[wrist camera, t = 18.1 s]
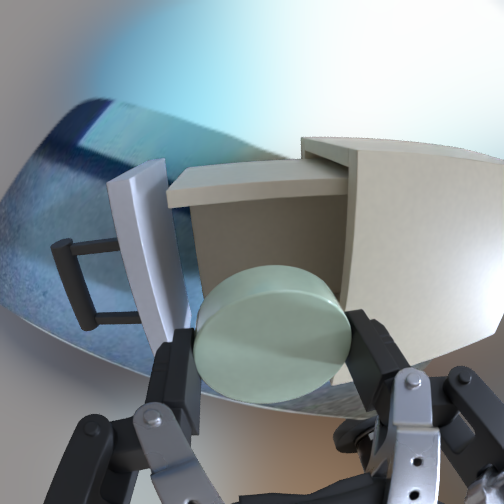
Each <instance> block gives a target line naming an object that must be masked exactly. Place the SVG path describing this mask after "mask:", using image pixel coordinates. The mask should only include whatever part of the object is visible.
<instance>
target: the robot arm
mask: <svg viewBox="0 0 504 504" xmlns="http://www.w3.org/2000/svg"><path fill="white" fill-rule="evenodd" d="M344 313H345V315H346V316H347V319H348V321H349V323H350V326H351V330H352V343H351V348H350V352H349V355H348V357H347V359H346V361H345V363H346V366H347V368H348V370H349V372H350V375H351V377H352V379H353V382H354V384H355V386H356V388H357V391H358V393H359V395H360V398H361V400H362V403H363V405H364V407H365V410H366V412H369V411H373V410H376V411H377V414H378V416H377V418H376V423H375V425H373V426H371V427H369V428H367V429H366V430H364V431H363V432H361V433H360V434H359V435H358V436H357V437H356V438H355V439H354V445H355V447H356V449H357V452H358V455H359V458H360V461H361V464H362V467H363V470H364V474H360V475H357V476H354V477H350V478H346V479H343V480H339V481H337V482H335V483H334V484H331V485H329V486H327V487H325V488H323V489H320V490H318V491H316V492H314V493H311V494H307V495H300V494H299V495H298V494H282V493H267V494H257V495H244V496H239V502H235V503H232V504H444V503H442V502H440V501H438V500H437V499H438V489H439V488H438V487H439V473H440V448H441V450H442V451H443V452H444V454H445V455H446V457H447V458H448V460H449V461H450V462H451V464H452V466H453V467H454V468H455V470H456V471H457V473H458V474H459V476H460V477H461V478H462V480H463V482H464V483H465V485H466V486H467V488H468V490H467V495H466V497H465V500H464V503H465V504H504V404H503V403H502V402H501V401H500V400H499V398H498V397H497V396H496V395H495V394H494V393H493V392H492V390H491V389H490V388H489V387H488V386H487V385H486V384H485V383H484V382H483V381H482V379H481V378H480V377H479V376H478V375H477V374H476V373H475V372H474V371H473V370H471V369H470V368H468V367H465V366H457V367H454V368H453V369H451V371H450V372H449V374H448V376H446V377H428V376H427V375H426V373H424V372H423V371H422V370H420V369H417V368H411V366H410V365H409V363H408V362H407V360H406V358H405V357H404V355H403V354H402V352H401V351H400V349H399V347H398V346H397V344H396V343H394V340H393V338H392V337H391V336H390V334H389V332H388V331H387V329H386V328H385V326H384V325H383V324H381V323H380V322H378V321H377V320H376V319H371V320H370V319H369V318H368V316H367V315H366V313H365V312H364V310H363V309H358V310H352V311H345V312H344ZM194 334H195V330H194V328H180V329H175V330H174V334H173V339H172V342H163V343H162V344H161V346H160V347H159V348H158V349H157V351H156V354H155V359H154V363H153V367H152V372H151V377H150V382H149V386H148V391H147V396H146V401H145V404H144V405H142V406H141V407H139V408H138V409H137V410H136V412H135V414H134V416H132V417H129V418H126V419H121V420H116V421H112V422H109V421H108V419H107V418H106V417H104V416H102V415H99V414H91V415H88V416H85V417H84V418H82V419H81V420H80V421H79V423H78V424H77V426H76V429H75V430H74V433H73V435H72V437H71V439H70V441H69V444H68V446H67V448H66V450H65V452H64V454H63V457H62V459H61V461H60V464H59V466H58V468H57V471H56V473H55V476H54V478H53V480H52V483H51V485H50V488H49V490H48V493H47V495H46V498H45V501H44V503H43V504H130V501H131V497H132V494H133V490H134V487H135V483H136V480H137V476H138V473H139V470H143V469H148V468H150V469H151V472H152V474H151V475H150V476H151V480H152V483H153V485H154V488H155V490H156V492H157V494H158V496H159V498H160V500H161V502H162V504H225V503H224V502H223V500H222V499H221V497H220V496H219V494H218V492H217V491H216V489H215V488H214V486H213V485H212V483H211V481H210V480H209V478H208V477H207V475H206V473H205V471H204V470H203V468H202V466H201V465H200V463H199V461H198V459H197V458H196V456H195V454H194V452H193V451H192V449H191V435H199V423H200V395H201V377H200V375H199V374H198V371H197V368H196V364H195V360H194V357H193V343H194ZM460 412H461V414H462V415H463V416H464V417H465V419H466V420H467V421H468V422H469V424H470V425H471V426H472V427H473V429H474V430H475V435H474V434H473V432H472V431H471V430H470V428H469V427H468V426H467V424H466V423H465V422H464V421H463V419H462V418H461V417H460V416H459V413H460Z"/></svg>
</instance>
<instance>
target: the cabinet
mask: <svg viewBox="0 0 504 504" xmlns="http://www.w3.org/2000/svg"><path fill="white" fill-rule="evenodd" d="M321 158H327V159H329V160H332V161H334V162H337V163H339V164H342V165H344V166H347V167H349V177H348V207H347V226H346V241H345V253H344V265H343V275H342V285H341V294H340V302H339V304H340V306H341V308H342V309H343V311H344V312H345V311H352V310H358V309H363V310H364V312H365V313H366V315H367V316H368V318H369V319H370V320H371V319H376V320H377V321H378V322H380V323H381V324H383V325H384V326H385V328H386V329H387V331H388V332H389V334H390V336H391V337H392V338H393V340H394V343H396V344H397V346H398V347H399V349H400V351H401V352H402V354H403V355H404V357H405V358H406V360H407V362H408V363H409V365H410V366H411V365H415V364H418V363H421V362H424V361H427V360H430V359H433V358H435V357H438V356H441V355H444V354H446V353H449V352H452V351H454V350H457V349H459V348H462V347H464V346H467V345H469V344H472V343H474V342H477V341H479V340H481V339H483V338H486V337H488V336H490V335H492V334H494V333H495V331H496V329H497V327H498V325H499V322H500V320H501V318H502V315H503V313H504V160H502V159H498V158H495V157H492V156H489V155H485V154H482V153H478V152H474V151H470V150H466V149H462V148H456V147H450V146H443V145H436V144H427V143H419V142H409V141H398V140H386V139H370V138H349V137H301V159H321ZM352 381H353V379H352V377H351V375H350V372H349V370H348V368H347V366H346V363H345V362H344V364H343V366H342V367H341V368H340V370H339V371H338V372H337V373H336V374H335V375H334V376H333V377H332V378H331V379H330V383H331V385H332V386H333V385H338V384H343V383H347V382H352Z"/></svg>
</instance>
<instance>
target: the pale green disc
mask: <svg viewBox="0 0 504 504" xmlns="http://www.w3.org/2000/svg"><path fill="white" fill-rule="evenodd" d="M351 343H352V330H351V326H350V323H349V321H348V319H347V316H346V315H345V313H344V311H343V309H342V308H341V306H340V304H339V302H338V300H337V299H336V297H335V295H334V293H333V292H332V290H331V289H330V288H329V286H328V285H327V284H326V283H325V282H324V281H323V280H321V279H320V278H318V277H317V276H316V275H314V274H312V273H310V272H308V271H305V270H302V269H300V268H296V267H291V266H284V265H266V266H259V267H254V268H250V269H247V270H244V271H241V272H239V273H236V274H234V275H232V276H230V277H229V278H227V279H225V280H224V281H222V282H221V283H220V284H218V285H217V286H216V287H215V288H214V289H213V290H212V291H211V292H210V293H209V294H208V295H207V297H206V298H205V299H204V301H203V303H202V304H201V306H200V309H199V311H198V314H197V319H196V326H195V334H194V343H193V357H194V360H195V364H196V368H197V371H198V374H199V375H200V377H201V378H202V380H203V381H204V382H205V383H206V384H207V385H208V386H209V387H210V388H212V389H213V390H215V391H216V392H218V393H219V394H221V395H223V396H225V397H228V398H231V399H234V400H237V401H241V402H247V403H256V404H268V403H278V402H284V401H288V400H292V399H295V398H298V397H301V396H303V395H306V394H308V393H310V392H312V391H314V390H316V389H318V388H319V387H321V386H322V385H324V384H325V383H326V382H327V381H329V380H330V379H331V378H332V377H333V376H334V375H335V374H336V373H337V372H338V371H339V370H340V368H341V367H342V366H343V364H344V362H345V361H346V359H347V357H348V355H349V352H350V348H351Z"/></svg>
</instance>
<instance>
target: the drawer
mask: <svg viewBox="0 0 504 504" xmlns="http://www.w3.org/2000/svg"><path fill="white" fill-rule="evenodd" d="M348 177H349V167H347V166H344V165H342V164H339V163H337V162H334V161H332V160H329V159H327V158H321V159H286V160H266V161H251V162H237V163H226V164H215V165H205V166H196V167H188V168H186V169H185V170H184V171H183V172H182V173H181V174H180V176H179V177H178V178H177V179H176V180H175V181H174V182H173V184H172V185H171V186H170V187H168V179H167V171H166V163H165V158H160V159H154V160H148V161H146V162H144V163H142V164H140V165H138V166H137V167H135V168H133V169H131V170H129V171H127V172H125V173H123V174H121V175H120V176H118V177H116V178H114V179H112V180H111V181H109V182H107V183H106V185H107V191H108V196H109V201H110V207H111V211H112V216H113V221H114V225H115V230H116V234H117V238H109V239H101V240H93V241H86V242H78V243H73V241H72V239H71V238H66V239H62V240H59V241H57V242H55V243H54V244H52V245H51V251H52V254H53V257H54V260H55V263H56V266H57V269H58V272H59V275H60V278H61V280H62V283H63V286H64V289H65V291H66V294H67V296H68V299H69V301H70V304H71V306H72V309H73V311H74V313H75V316H76V318H77V320H78V322H79V325H80V327H81V329H82V330H84V331H91V330H93V329H95V328H97V327H98V326H99V324H142V325H143V328H144V331H145V334H146V336H147V339H148V342H149V345H150V347H151V350H152V353H153V355H154V358H155V354H156V351H157V349H158V348H159V347H160V346H161V344H162V343H163V342H172V339H173V334H174V330H175V329H180V328H190V322H191V311H190V306H189V301H188V297H187V292H186V287H185V282H184V277H183V272H182V267H181V261H180V256H179V250H178V245H177V239H176V233H175V227H174V221H173V214H172V208H177V207H186V206H189V207H190V215H191V222H192V229H193V236H194V243H195V249H196V256H197V262H198V268H199V274H200V280H201V286H202V292H203V298H204V299H205V298H206V297H207V295H208V294H209V293H210V292H211V291H212V290H213V289H214V288H215V287H216V286H217V285H218V284H220V283H221V282H222V281H224V280H225V279H227V278H229V277H230V276H232V275H234V274H236V273H239V272H241V271H244V270H247V269H250V268H254V267H259V266H266V265H284V266H291V267H296V268H300V269H302V270H305V271H308V272H310V273H312V274H314V275H316V276H317V277H318V278H320V279H321V280H323V281H324V282H325V283H326V284H327V285H328V286H329V288H330V289H331V290H332V292H333V293H334V295H335V297H336V299H337V300H338V302H340V294H341V285H342V275H343V265H344V253H345V241H346V226H347V207H348ZM112 251H121V255H122V259H123V262H124V266H125V270H126V273H127V277H128V280H129V284H130V287H131V291H132V294H133V297H134V301H135V304H136V307H137V310H138V311H131V312H102V313H97V312H96V310H95V307H94V304H93V302H92V299H91V297H90V294H89V291H88V288H87V285H86V283H85V280H84V277H83V274H82V271H81V268H80V264H79V261H78V258H77V255H85V254H94V253H103V252H112Z"/></svg>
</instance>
